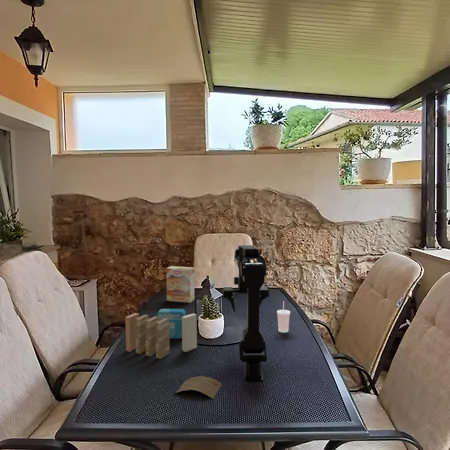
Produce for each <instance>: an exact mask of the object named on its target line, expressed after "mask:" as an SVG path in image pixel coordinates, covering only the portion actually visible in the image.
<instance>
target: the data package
mask: <svg viewBox="0 0 450 450" xmlns="http://www.w3.org/2000/svg"><path fill="white" fill-rule="evenodd" d="M186 315H187V314H186V310H185V309H184V308H160V309H159V310H158V312H157V314H156V317H159V321H160V320H162V319H164V318H167V319H169V340H170V339H174V340H175V339H177V340H179V339H180V340H182V317H183V316H186Z"/></svg>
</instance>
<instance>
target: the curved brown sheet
mask: <svg viewBox="0 0 450 450" xmlns="http://www.w3.org/2000/svg"><path fill="white" fill-rule="evenodd" d="M222 385H223V384H222V383H221V382H220V381H219V380H216V379H214V378H212V377H208V376H202V375H201V376H199V375H198V376H194V377H190V378H188V379H186V380H185V381H184V382H183V383H182V384H181V386H180V387H179V388H178V390H177V391H176V392H175V393H174V394H177V393H180V392H182V391H183V392H184V391H190V390H192V391H196V392H200V393H202V394H204V395H206V396H208V397H210V398H211V399H213V400H214V398H215V397H216V396H217V393H218V391H219V390H220V388H221V387H222Z"/></svg>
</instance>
